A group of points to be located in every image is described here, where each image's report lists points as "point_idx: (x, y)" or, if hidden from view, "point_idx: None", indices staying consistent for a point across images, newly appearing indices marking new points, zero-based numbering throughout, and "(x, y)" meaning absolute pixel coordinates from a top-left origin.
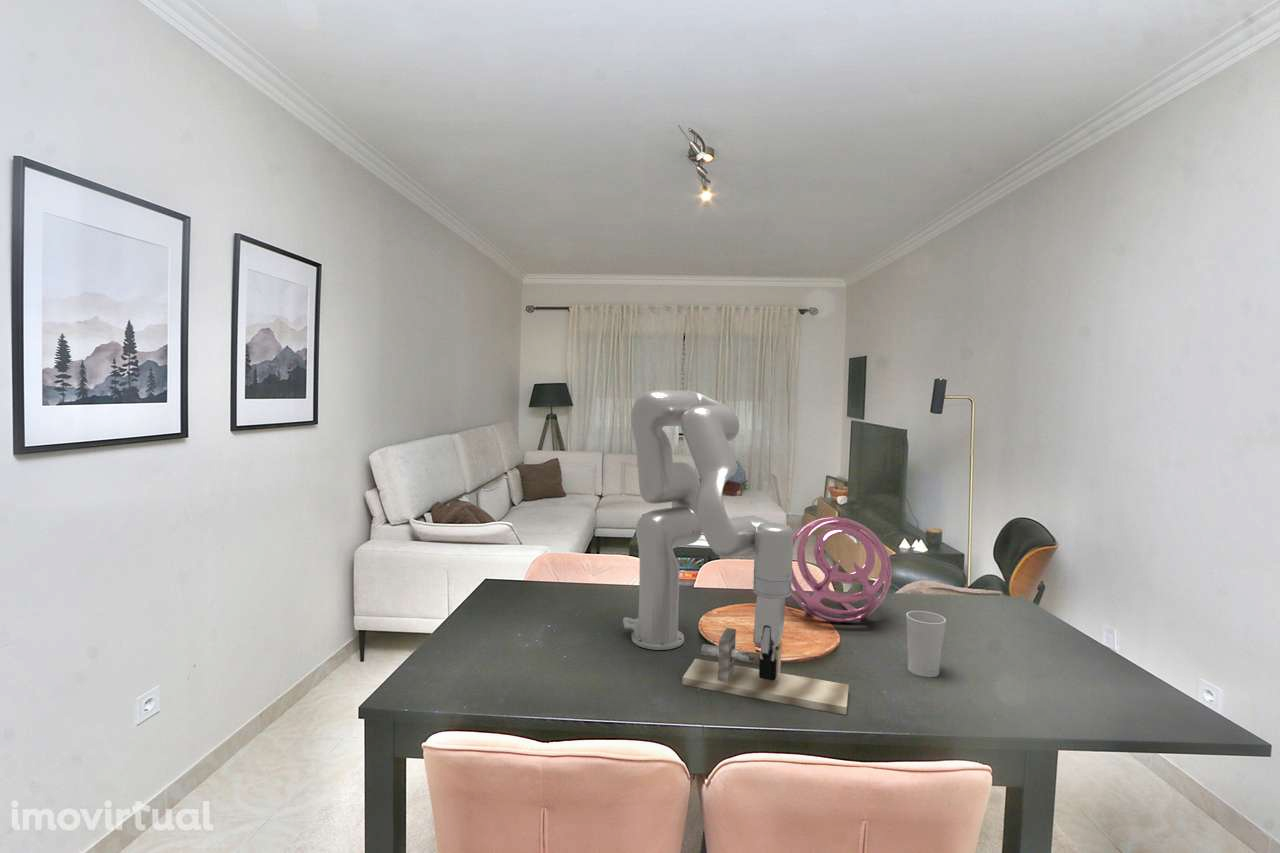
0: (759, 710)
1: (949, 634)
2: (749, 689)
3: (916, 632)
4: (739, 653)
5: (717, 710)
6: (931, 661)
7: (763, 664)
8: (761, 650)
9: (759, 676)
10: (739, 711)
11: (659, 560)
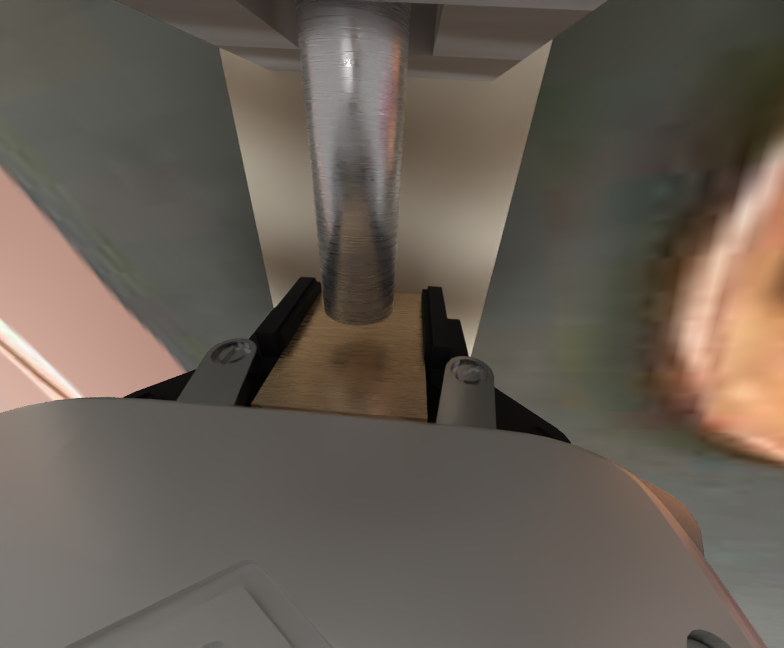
0: (195, 263)
1: (772, 601)
2: (257, 221)
3: None
4: (310, 143)
5: (48, 70)
6: None
7: (251, 339)
8: (182, 396)
9: (301, 278)
10: (129, 188)
11: None
